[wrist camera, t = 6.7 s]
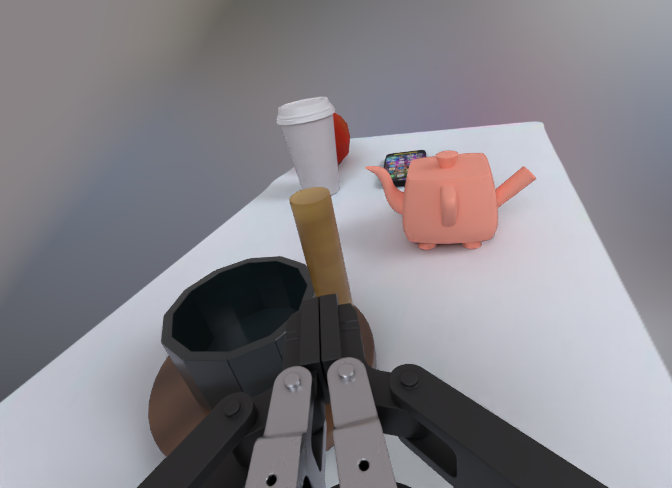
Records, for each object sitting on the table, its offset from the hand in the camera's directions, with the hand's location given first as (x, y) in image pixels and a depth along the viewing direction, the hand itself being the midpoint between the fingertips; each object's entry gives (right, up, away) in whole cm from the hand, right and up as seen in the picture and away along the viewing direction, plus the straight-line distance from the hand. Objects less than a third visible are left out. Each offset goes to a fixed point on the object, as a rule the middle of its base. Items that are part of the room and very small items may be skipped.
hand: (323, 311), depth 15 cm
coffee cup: (-2, +12, +47) cm, 49 cm away
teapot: (+14, +4, +28) cm, 31 cm away
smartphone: (+13, +16, +49) cm, 53 cm away
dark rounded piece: (-5, -8, +14) cm, 17 cm away
